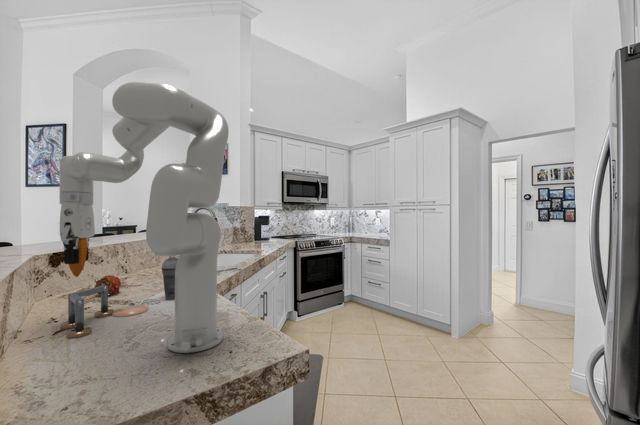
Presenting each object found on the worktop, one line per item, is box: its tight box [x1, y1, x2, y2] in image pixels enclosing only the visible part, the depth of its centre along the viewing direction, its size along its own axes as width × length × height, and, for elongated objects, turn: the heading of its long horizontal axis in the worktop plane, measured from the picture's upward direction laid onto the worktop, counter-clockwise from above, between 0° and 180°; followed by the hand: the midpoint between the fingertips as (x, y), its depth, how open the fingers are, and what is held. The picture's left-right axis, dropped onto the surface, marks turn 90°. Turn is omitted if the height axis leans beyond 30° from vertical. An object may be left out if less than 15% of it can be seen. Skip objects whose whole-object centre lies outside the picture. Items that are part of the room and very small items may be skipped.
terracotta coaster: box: [111, 304, 150, 318], centre depth 94 cm, size 10×10×1 cm
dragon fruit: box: [93, 274, 122, 295], centre depth 116 cm, size 8×8×12 cm
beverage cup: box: [160, 256, 179, 301], centre depth 110 cm, size 7×7×20 cm
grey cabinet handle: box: [60, 285, 115, 339], centre depth 83 cm, size 21×10×9 cm, turn 18°
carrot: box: [68, 237, 87, 278], centre depth 83 cm, size 5×5×15 cm
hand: (76, 261), depth 83 cm, fingers closed on carrot, 4 cm apart
